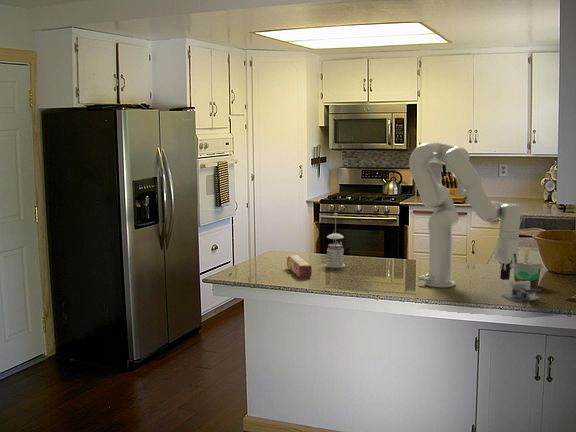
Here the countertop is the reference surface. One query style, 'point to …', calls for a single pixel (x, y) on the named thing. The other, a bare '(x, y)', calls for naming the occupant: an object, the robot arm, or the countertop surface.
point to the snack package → (299, 266)
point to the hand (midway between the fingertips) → (504, 279)
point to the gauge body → (518, 297)
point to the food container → (527, 273)
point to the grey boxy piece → (523, 289)
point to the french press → (335, 250)
